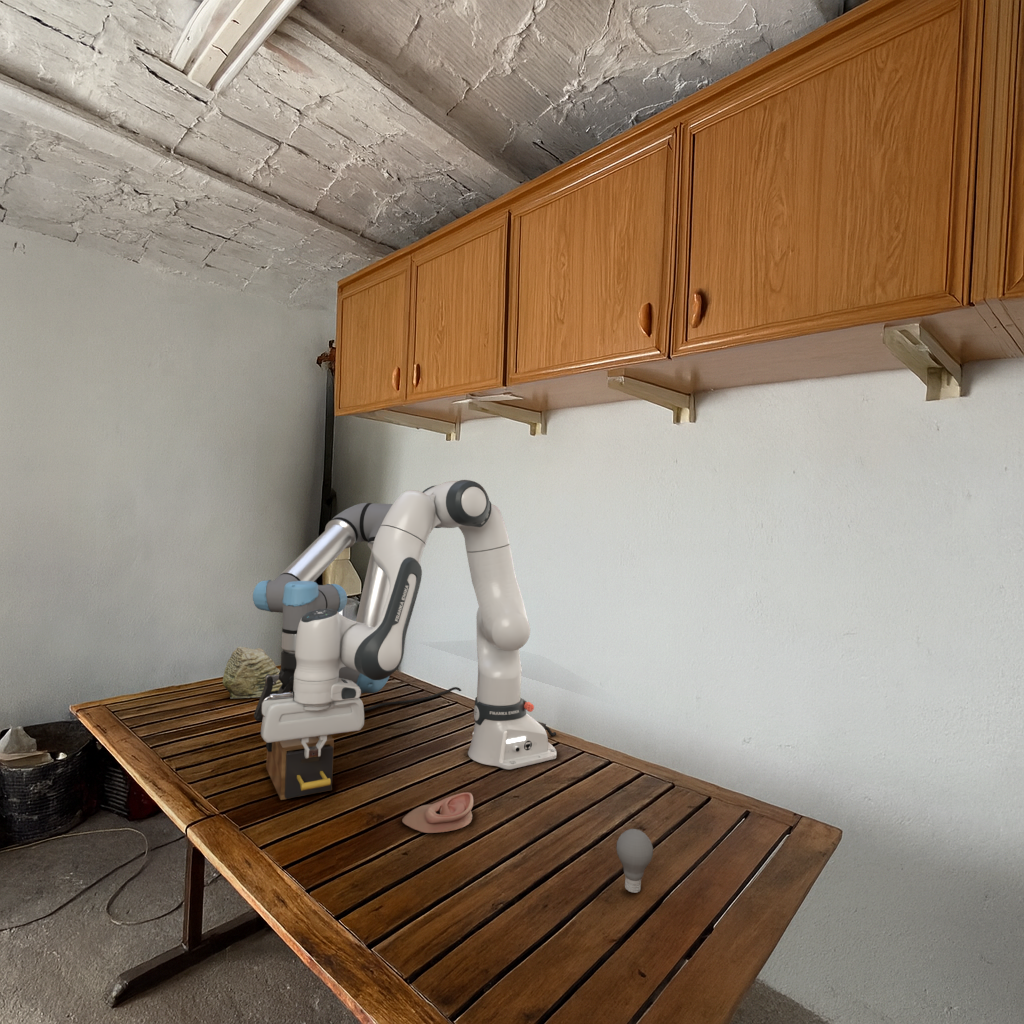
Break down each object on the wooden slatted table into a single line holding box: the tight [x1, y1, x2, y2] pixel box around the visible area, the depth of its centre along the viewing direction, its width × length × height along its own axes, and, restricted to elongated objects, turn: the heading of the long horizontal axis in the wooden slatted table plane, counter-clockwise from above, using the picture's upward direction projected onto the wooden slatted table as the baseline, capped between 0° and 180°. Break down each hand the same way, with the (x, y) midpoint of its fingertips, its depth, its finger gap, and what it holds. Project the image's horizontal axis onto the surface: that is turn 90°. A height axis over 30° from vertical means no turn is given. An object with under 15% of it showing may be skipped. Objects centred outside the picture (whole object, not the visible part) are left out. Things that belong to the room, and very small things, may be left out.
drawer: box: [284, 745, 334, 800], centre depth 137 cm, size 21×9×9 cm, turn 31°
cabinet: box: [265, 734, 335, 801], centre depth 141 cm, size 17×11×11 cm, turn 31°
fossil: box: [222, 646, 282, 699], centre depth 198 cm, size 9×18×15 cm, turn 132°
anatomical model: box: [401, 791, 474, 834], centre depth 126 cm, size 13×4×12 cm
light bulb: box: [615, 828, 654, 894], centre depth 106 cm, size 6×6×10 cm
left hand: (295, 745), depth 145 cm, fingers closed on cabinet, 11 cm apart
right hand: (312, 756), depth 130 cm, fingers closed
